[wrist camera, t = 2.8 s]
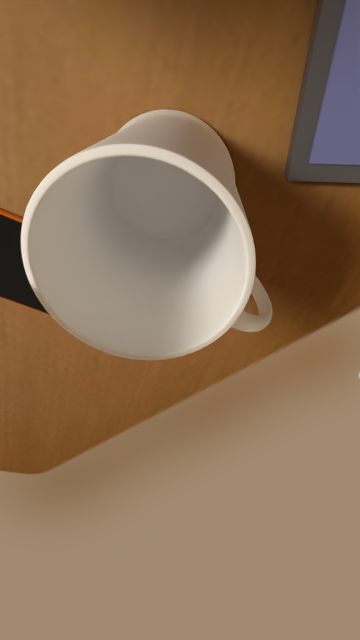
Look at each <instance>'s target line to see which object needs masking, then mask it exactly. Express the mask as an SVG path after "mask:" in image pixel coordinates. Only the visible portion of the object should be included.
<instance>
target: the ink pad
mask: <svg viewBox="0 0 360 640" xmlns="http://www.w3.org/2000/svg"><path fill="white" fill-rule="evenodd" d="M284 178H285V179H286V180H287V181H312V182H342V183H360V0H318V2H317V7H316V13H315V18H314V23H313V28H312V33H311V39H310V44H309V49H308V54H307V59H306V65H305V70H304V75H303V80H302V85H301V91H300V96H299V101H298V106H297V111H296V117H295V122H294V127H293V132H292V137H291V143H290V148H289V153H288V158H287V163H286V169H285V174H284Z"/></svg>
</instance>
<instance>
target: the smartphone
mask: <svg viewBox="0 0 360 640" xmlns="http://www.w3.org/2000/svg"><path fill="white" fill-rule="evenodd" d="M22 223H23V217H20V216H18V215H16V214H13V213H11V212H8V211H6V210H3V209H1V208H0V298H3V299H6V300H8V301H11V302H14V303H17V304H20V305H22V306H25V307H28V308H31V309H34V310H36V311H39V312H42V313H45V314H48V315H50V314H49V313H48V312H47V311H46V309H45V308H44V307H43V305H42V304H41V302H40V301H39V299H38V298H37V296H36V294H35V293H34V291H33V289H32V287H31V285H30V282H29V280H28V277H27V275H26V272H25V268H24V264H23V259H22V253H21V229H22ZM50 316H51V315H50Z"/></svg>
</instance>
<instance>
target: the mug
mask: <svg viewBox="0 0 360 640" xmlns="http://www.w3.org/2000/svg"><path fill="white" fill-rule="evenodd" d="M21 253H22V259H23V264H24V268H25V272H26V275H27V277H28V280H29V282H30V285H31V287H32V289H33V291H34V293H35V294H36V296H37V298H38V299H39V301H40V302H41V304H42V305H43V307H44V308H45V309H46V311H47V312H48V313H49V314H50V315H51V316H52V317H53V319H54V320H55V321H56V322H57V323H59V324H60V325H61V326H62V327H63V328H64V329H65V330H67V331H68V332H69V333H70V334H72V335H73V336H75V337H76V338H78V339H79V340H81V341H83V342H84V343H86V344H88V345H90V346H92V347H94V348H96V349H99V350H101V351H104V352H106V353H109V354H112V355H116V356H120V357H124V358H130V359H138V360H163V359H170V358H175V357H180V356H183V355H187V354H190V353H192V352H195V351H197V350H199V349H202V348H204V347H205V346H207V345H209V344H211V343H212V342H214V341H215V340H216V339H218V338H219V337H220V336H222V335H223V334H224V333H225V332H226V331H227V330H228V329H229V328H230V327H232V328H235V329H238V330H241V331H245V332H257V331H260V330H262V329H264V328H265V327H266V326H267V325H268V324H269V323H270V321H271V319H272V314H273V311H272V305H271V302H270V299H269V297H268V294H267V292H266V291H265V289H264V287H263V285H262V284H261V282H260V281H259V279H258V278H257V277H256V275H255V270H256V255H255V246H254V241H253V236H252V233H251V229H250V226H249V223H248V220H247V217H246V214H245V211H244V208H243V205H242V202H241V199H240V196H239V193H238V191H237V188H236V185H235V172H234V167H233V163H232V159H231V157H230V154H229V152H228V150H227V148H226V146H225V144H224V142H223V141H222V139H221V138H220V137H219V135H218V134H217V133H216V132H215V131H214V130H213V129H212V128H211V127H210V126H209V125H208V124H206V123H205V122H204V121H202V120H200V119H199V118H197V117H195V116H193V115H191V114H188V113H185V112H182V111H177V110H155V111H150V112H147V113H144V114H141V115H139V116H137V117H135V118H133V119H132V120H130V121H129V122H128V123H126V124H125V125H124V126H123V127H122V128H121V129H120V130H119V131H118V132H117V133H115V134H113V135H112V136H110V137H108V138H106V139H104V140H102V141H100V142H98V143H96V144H94V145H92V146H90V147H88V148H86V149H85V150H83V151H81V152H79V153H77V154H75V155H73V156H71V157H70V158H68V159H67V160H65V161H64V162H62V163H61V164H59V165H58V166H57V167H56V168H54V169H53V170H52V171H51V172H50V173H49V174H48V175H47V176H46V177H45V178H44V179H43V181H42V182H41V183H40V184H39V186H38V187H37V189H36V190H35V192H34V193H33V195H32V197H31V199H30V201H29V203H28V206H27V208H26V211H25V214H24V218H23V223H22V229H21ZM250 294H252V296H253V298H254V299H255V302H256V304H257V307H258V310H259V316H257V315H253V314H250V313H247V312H245V311H243V310H244V308H245V306H246V304H247V302H248V299H249V297H250Z"/></svg>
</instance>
